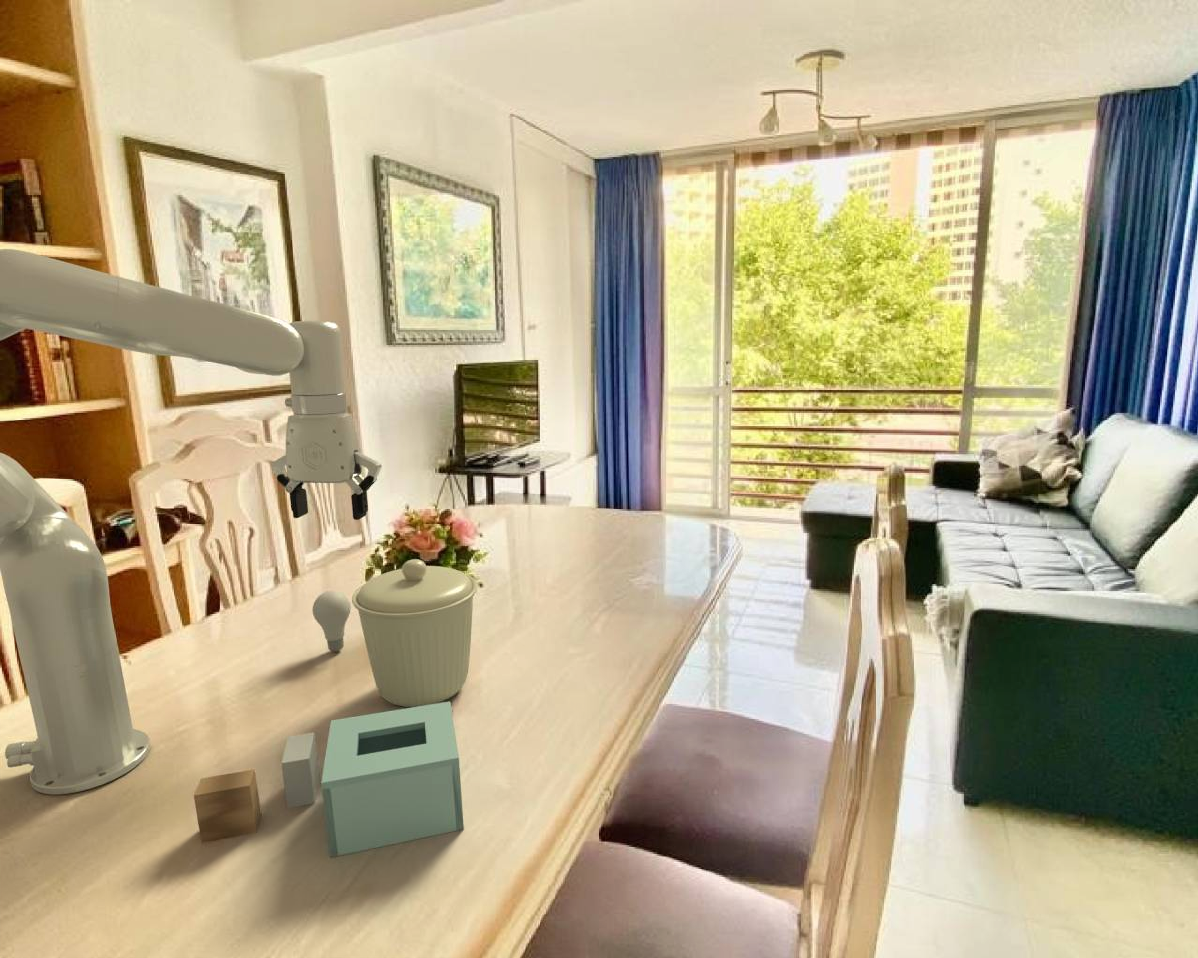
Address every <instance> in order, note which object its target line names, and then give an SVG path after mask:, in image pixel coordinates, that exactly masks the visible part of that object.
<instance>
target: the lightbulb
mask: <svg viewBox="0 0 1198 958" xmlns="http://www.w3.org/2000/svg"><path fill="white" fill-rule="evenodd" d="M351 610H352V605H351V601H350V600H349V597H348V596H347V595H345V593H343V592H341V591H339V590H328V591H325V592H323V593H321V594H319V595H318V596H317V598H316V599H315V600H314V602H313V605H312V615H313V617H314V619H315V620H316V622H317V624H318V625H320V627H321V629H322V630H323V633H324V638H325V640H326V642H327V647H328V650H329V651H331V652H334V653H339V652H340V650H342V649H343V648H344V647H345V646H344V640H345V639H344V637H345V628H346V627H345V626H346V623H347V621H348V619H349V616H350V614H351Z"/></svg>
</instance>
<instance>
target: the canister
mask: <svg viewBox="0 0 1198 958" xmlns="http://www.w3.org/2000/svg"><path fill="white" fill-rule="evenodd" d="M477 590H478V582H477V580H476V579H474V578H473V576H471V575H469V574H468V573H467V574H466V573H464V572H462V571H460V570H458V569H455V568H452V567H451V568H450V567H445V566H439V565H438V566H436V565H426V562H424V561H423V560H420V559H417V558H414V559H410V560H407V561H405V562H404V563H403V565H402V566H401V568H398V569H393V570H391V571H387V572H385V573H382V574H379V575H378V576H374V577H373V578H372V579H369V580H368V581H367V582H366V583H365V584H363V585H361V586H360V587H358V588H357V589H356V590H355V591H354V593H353V594H352V597H351V603H352V605H353V607H354V608H355V609H356V610H358V615H359V620H360V625H361V628H362V632H363V637H364V642H365V647H366V650H367V651H366V652H367V654H368V655H367V656H368V660H369V663H370V667H371V670H372V676H373V678H374V683H375V686H376V688H377V691H378V692H379V694H380V695H381V696H382V697H383V698H384V700H386V701H388V702H389V703H390V704H393V705H395V706H399V707H404V708H405V707H406V708H412V707H418V706H425V705H431V704H437V703H443V702H445V701H446V700H449V699H450V698H451V697H453V696H455V694H457V693H458V692H459V691H460V690H461V689H462V688H463V687H464V685H465V683H466V680H467V677H468V673H469V666H470V655H471V645H472V641H471V640H472V623H473V607H474V596H475V594H476V593H477Z"/></svg>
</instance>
